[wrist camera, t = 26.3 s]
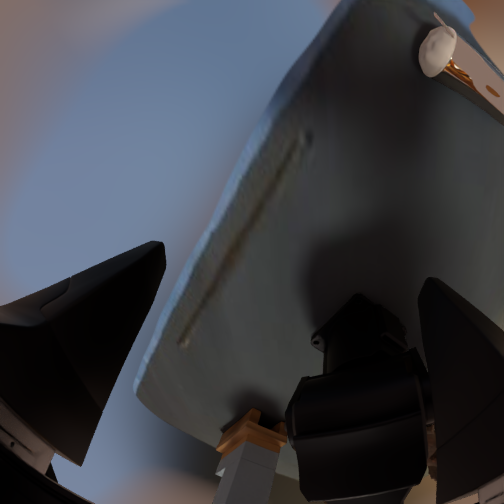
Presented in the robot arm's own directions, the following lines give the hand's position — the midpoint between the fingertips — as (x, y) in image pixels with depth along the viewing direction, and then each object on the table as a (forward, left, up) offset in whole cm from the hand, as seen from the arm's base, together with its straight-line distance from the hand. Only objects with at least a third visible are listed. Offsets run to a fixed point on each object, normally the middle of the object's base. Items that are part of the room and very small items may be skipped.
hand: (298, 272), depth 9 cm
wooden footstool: (-27, -12, -13) cm, 32 cm away
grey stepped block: (-28, -13, -10) cm, 32 cm away
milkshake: (+17, -9, -11) cm, 22 cm away
